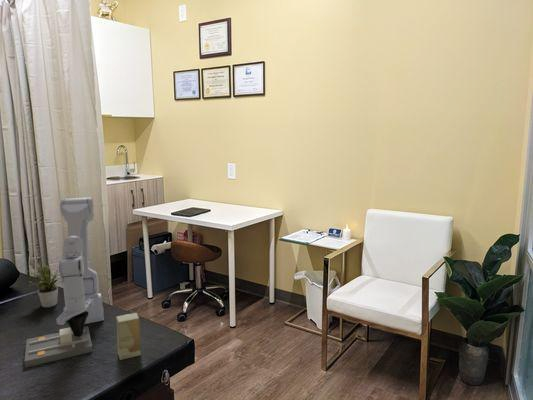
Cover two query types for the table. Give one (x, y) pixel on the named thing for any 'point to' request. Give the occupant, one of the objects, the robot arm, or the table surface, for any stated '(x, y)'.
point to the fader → (65, 335)
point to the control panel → (55, 348)
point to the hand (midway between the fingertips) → (78, 335)
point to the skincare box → (128, 336)
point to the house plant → (47, 287)
